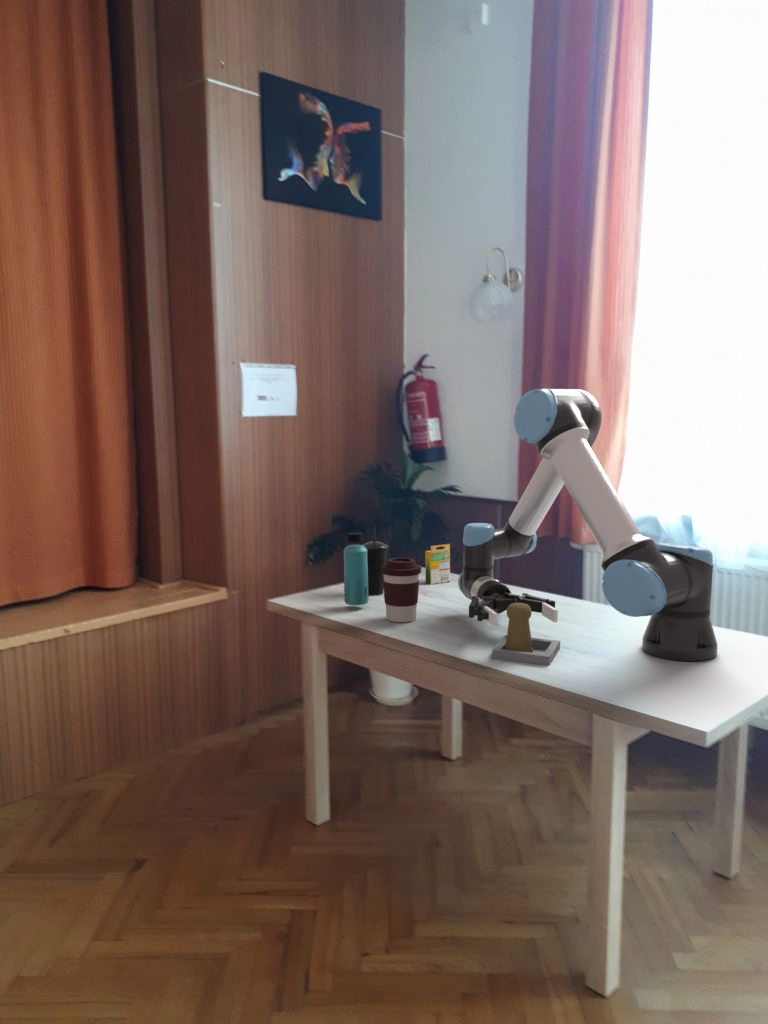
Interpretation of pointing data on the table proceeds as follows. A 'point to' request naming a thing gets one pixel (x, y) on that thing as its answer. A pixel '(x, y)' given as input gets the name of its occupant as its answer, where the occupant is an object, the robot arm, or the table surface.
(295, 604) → the table surface
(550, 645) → the gray square frame
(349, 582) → the beverage bottle
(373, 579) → the drinking cup
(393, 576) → the coffee cup
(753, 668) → the table surface
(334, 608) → the table surface
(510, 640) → the cork
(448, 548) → the crayon box
